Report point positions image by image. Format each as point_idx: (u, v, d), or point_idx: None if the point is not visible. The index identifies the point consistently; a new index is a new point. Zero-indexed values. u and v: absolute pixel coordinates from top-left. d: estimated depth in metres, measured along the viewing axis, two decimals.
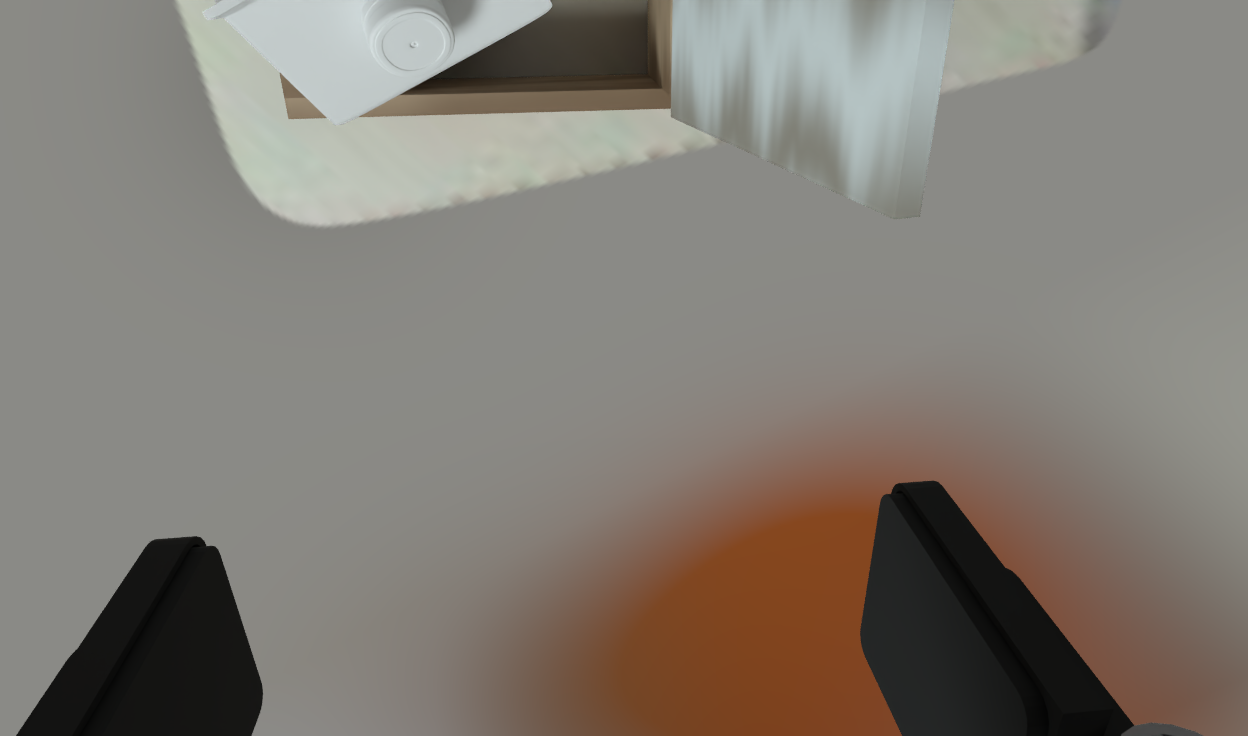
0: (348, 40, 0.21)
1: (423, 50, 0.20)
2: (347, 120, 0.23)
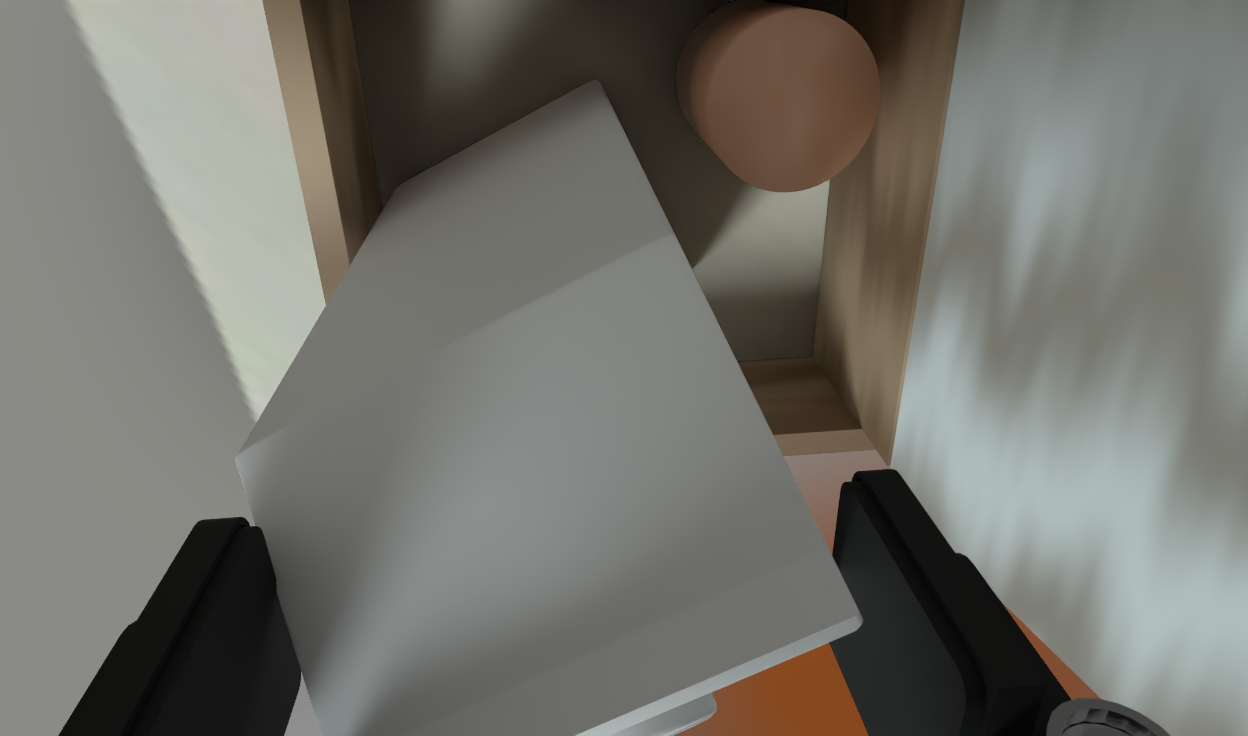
0: None
1: None
2: None
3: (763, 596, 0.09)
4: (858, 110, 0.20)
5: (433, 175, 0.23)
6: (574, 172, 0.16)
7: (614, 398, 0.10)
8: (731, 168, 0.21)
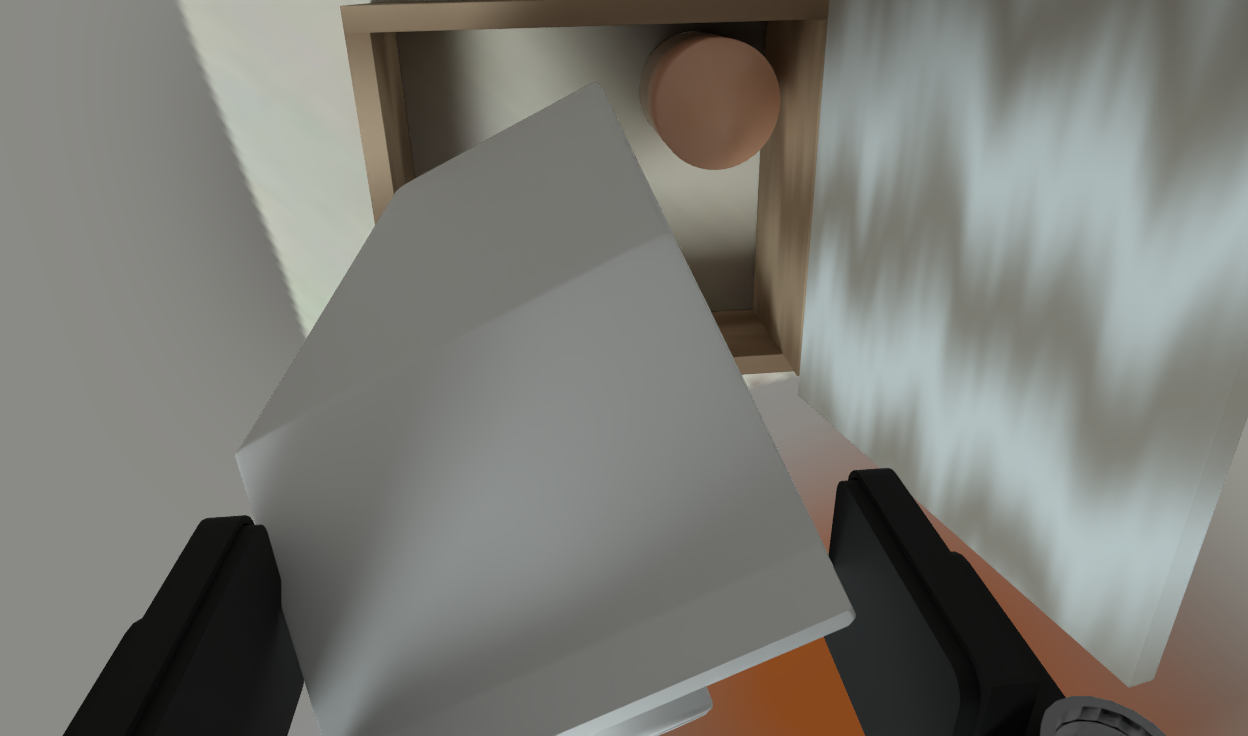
0: None
1: None
2: None
3: (757, 591, 0.10)
4: (765, 109, 0.28)
5: (434, 177, 0.23)
6: (573, 173, 0.16)
7: (610, 395, 0.11)
8: (675, 152, 0.28)
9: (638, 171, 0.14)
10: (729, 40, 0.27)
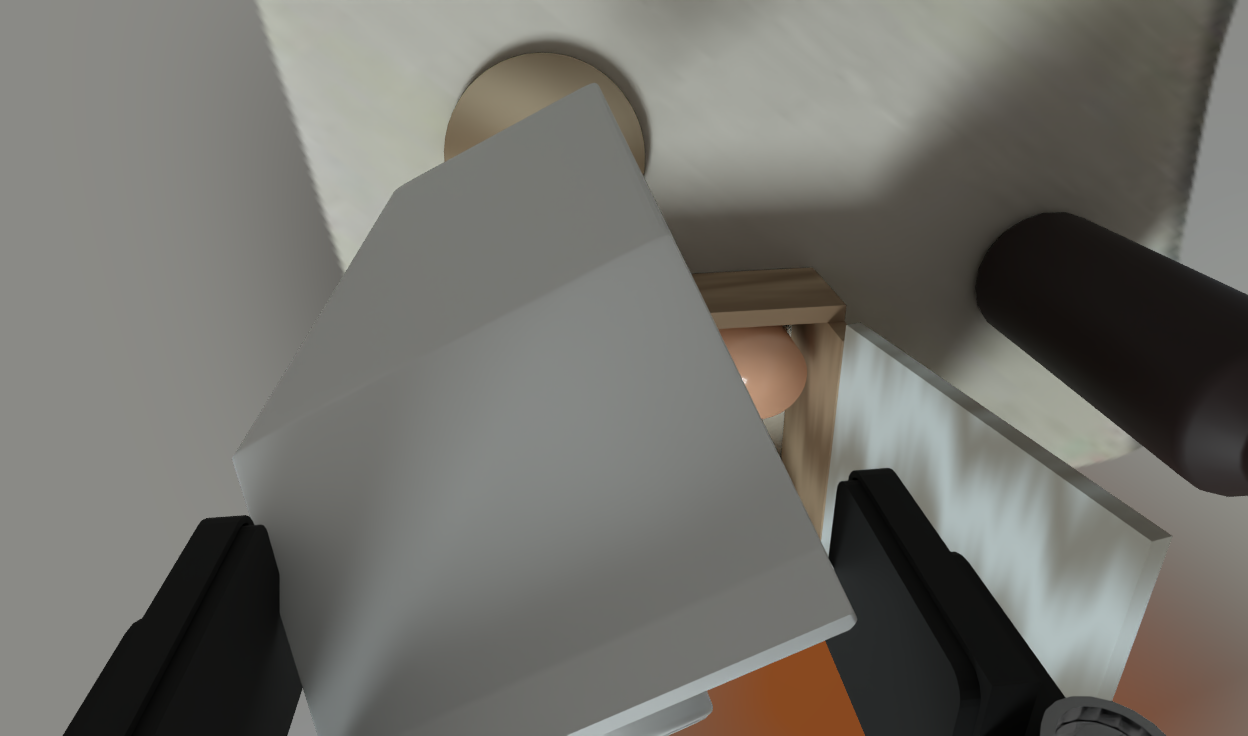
0: None
1: None
2: None
3: (757, 595, 0.09)
4: (795, 380, 0.37)
5: (432, 177, 0.23)
6: (571, 174, 0.16)
7: (609, 398, 0.10)
8: None
9: (637, 172, 0.14)
10: (770, 336, 0.36)
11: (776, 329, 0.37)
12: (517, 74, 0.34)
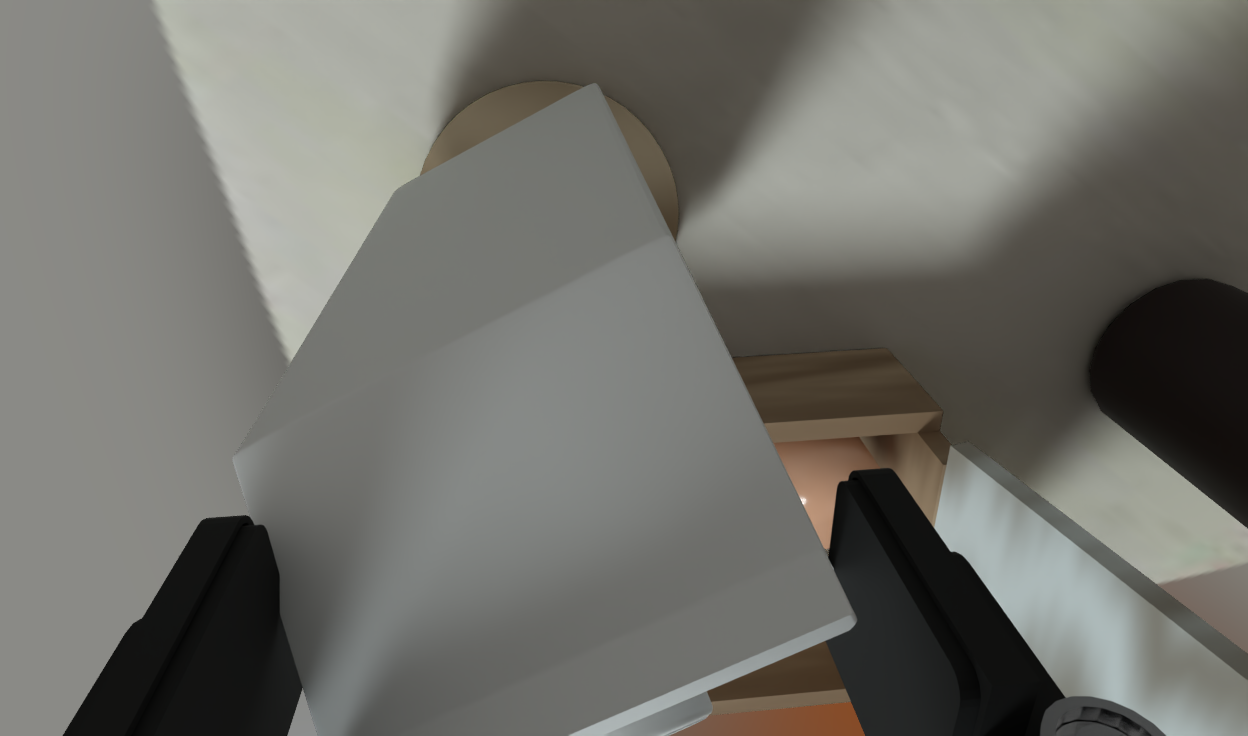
0: None
1: None
2: None
3: (758, 596, 0.10)
4: None
5: (432, 178, 0.23)
6: (572, 174, 0.16)
7: (610, 398, 0.11)
8: None
9: (637, 172, 0.14)
10: (841, 450, 0.28)
11: None
12: (511, 110, 0.26)
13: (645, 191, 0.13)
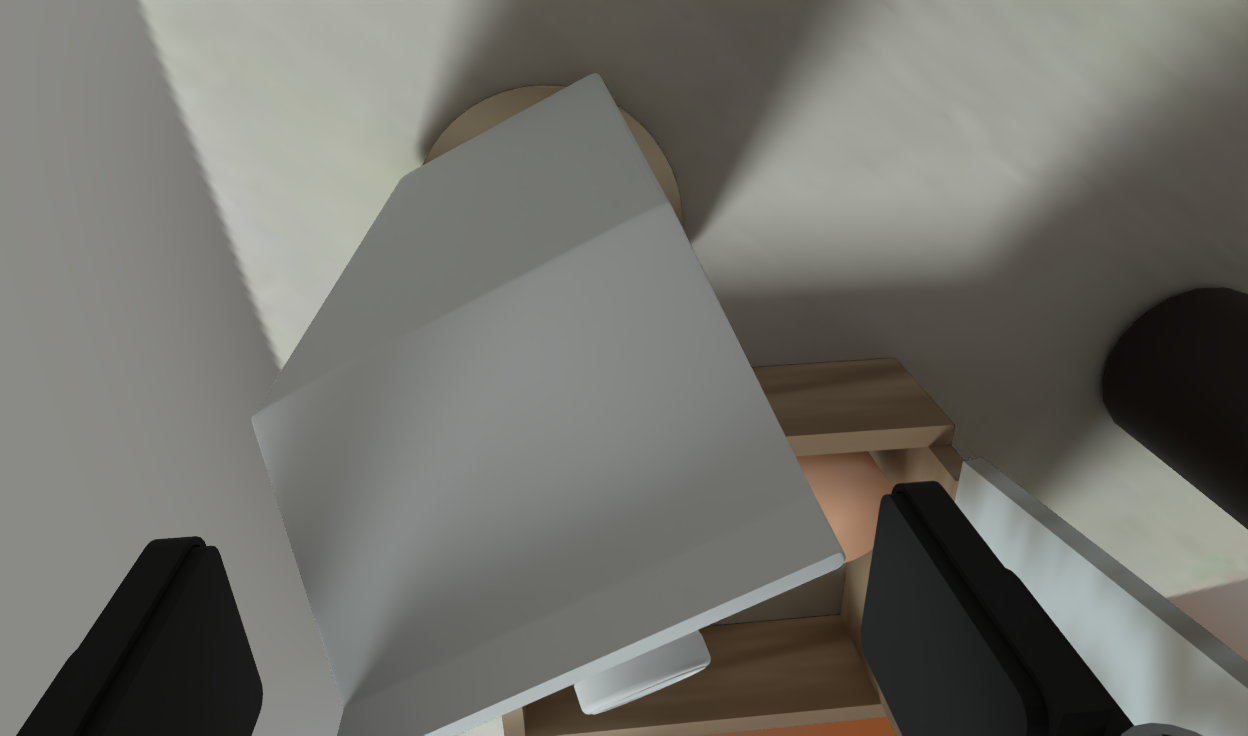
0: None
1: (660, 686, 0.13)
2: None
3: (752, 540, 0.10)
4: None
5: (438, 165, 0.24)
6: (575, 154, 0.16)
7: (612, 357, 0.11)
8: None
9: (638, 150, 0.14)
10: (850, 465, 0.27)
11: None
12: (510, 115, 0.25)
13: (646, 166, 0.13)
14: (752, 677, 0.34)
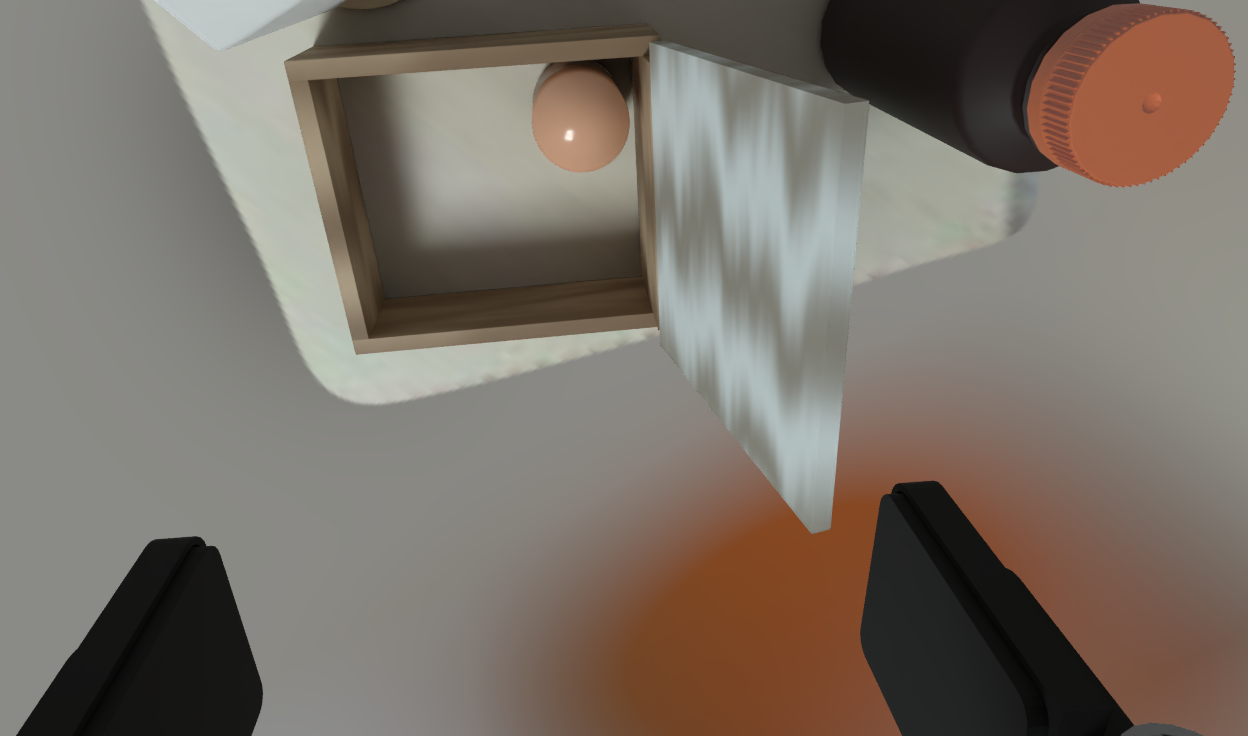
0: None
1: None
2: (228, 45, 0.24)
3: None
4: (618, 125, 0.36)
5: None
6: None
7: None
8: (550, 160, 0.37)
9: None
10: (584, 74, 0.35)
11: (596, 72, 0.36)
12: None
13: None
14: (557, 306, 0.42)
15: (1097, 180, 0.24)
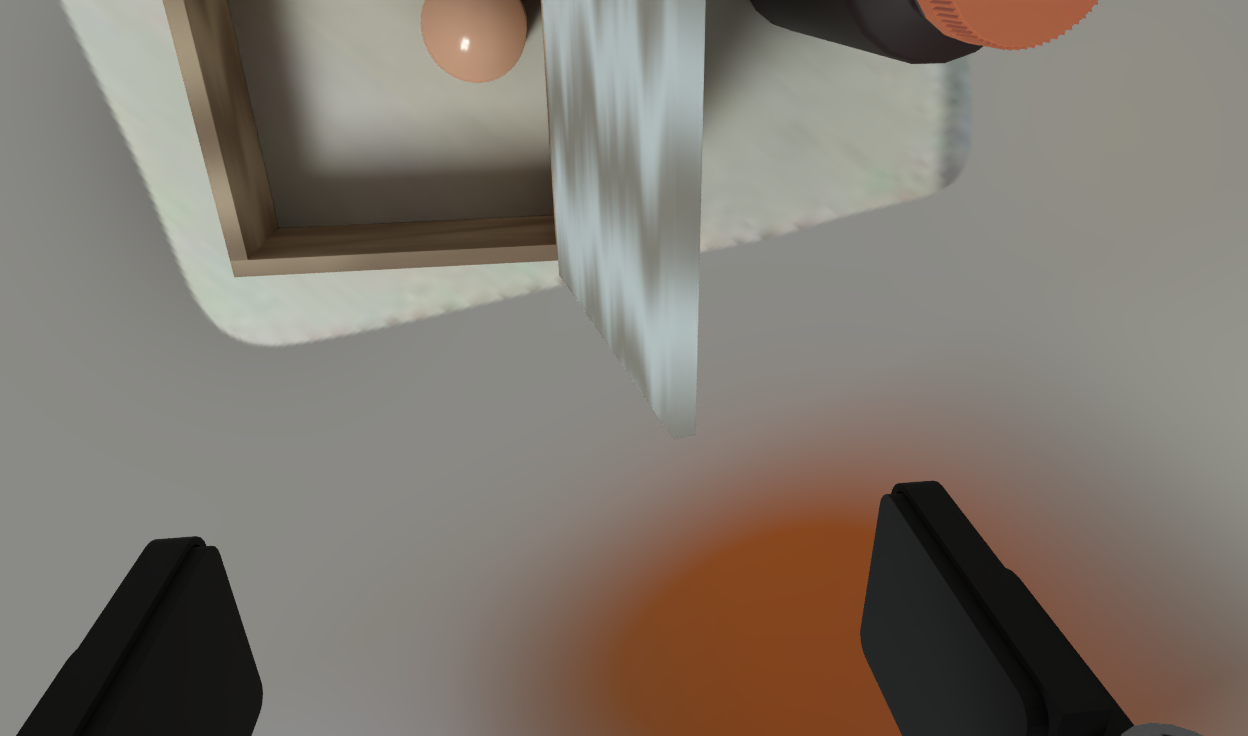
0: None
1: None
2: None
3: None
4: (514, 31, 0.34)
5: None
6: None
7: None
8: (442, 67, 0.34)
9: None
10: None
11: None
12: None
13: None
14: (457, 237, 0.40)
15: (982, 40, 0.22)
